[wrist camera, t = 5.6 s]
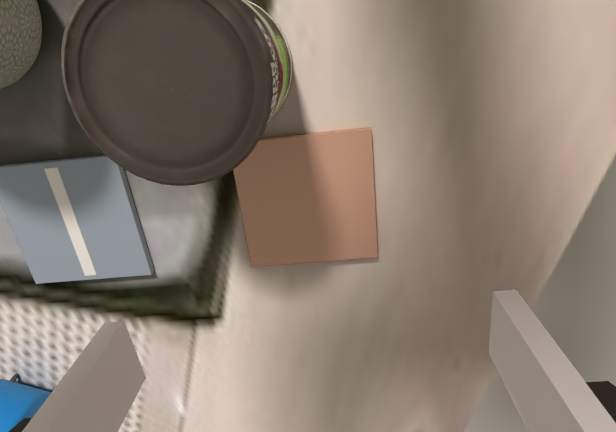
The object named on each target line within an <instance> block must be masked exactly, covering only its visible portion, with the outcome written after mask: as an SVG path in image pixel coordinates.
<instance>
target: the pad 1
mask: <svg viewBox="0 0 616 432" xmlns="http://www.w3.org/2000/svg"><path fill="white" fill-rule="evenodd" d="M0 204H1V206H2V208H3V210H4V213H5V215H6V217H7V219H8V222H9V224H10V226H11V228H12V231H13V233H14V235H15V237H16V240H17V242H18V244H19V247H20V249H21V251H22V253H23V256H24V258H25V260H26V262H27V265H28V267H29V269H30V271H31V274H32V276H33V278H34V280H35V283H36V284H38V283H51V282H64V281H77V280H90V279H103V278H116V277H129V276H142V275H151V274H152V273H153V272H154V267H153V264H152V261H151V257H150V254H149V251H148V247H147V244H146V241H145V238H144V234H143V231H142V228H141V224H140V221H139V218H138V214H137V211H136V208H135V204H134V201H133V198H132V195H131V191H130V188H129V185H128V181H127V178H126V175H125V171H124V168H122V167H121V166H119V165H117V164H116V163H115V162H113V161H112V160H111V159H109V158H108V157H107V156H106V155H98V156H88V157H78V158H68V159H59V160H49V161H39V162H29V163H20V164H10V165H0Z"/></svg>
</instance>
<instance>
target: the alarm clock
mask: <svg viewBox="0 0 616 432" xmlns="http://www.w3.org/2000/svg"><path fill="white" fill-rule="evenodd" d="M17 376H18V374H15V375H14V376H13V377H12V379H11V380H10V381H8V380H4V379H0V432H9V431H10V430H11V429H12V428H13V427H15V426H16V425H17V424H18V423H19V422H20V421H22V420H23V419H24V418H33V416H34V415H35V414H36V412H37V411H38V410H39V408H40V407H41V406H42V405H43V403H44V402H45V401H46V399H47V398H48V397H49V395H50V394H51V392H49V391H45V390H41V389H38V388H34V387H30V386H27V385H23V384H19V383H15V381H16V379H17Z"/></svg>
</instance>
